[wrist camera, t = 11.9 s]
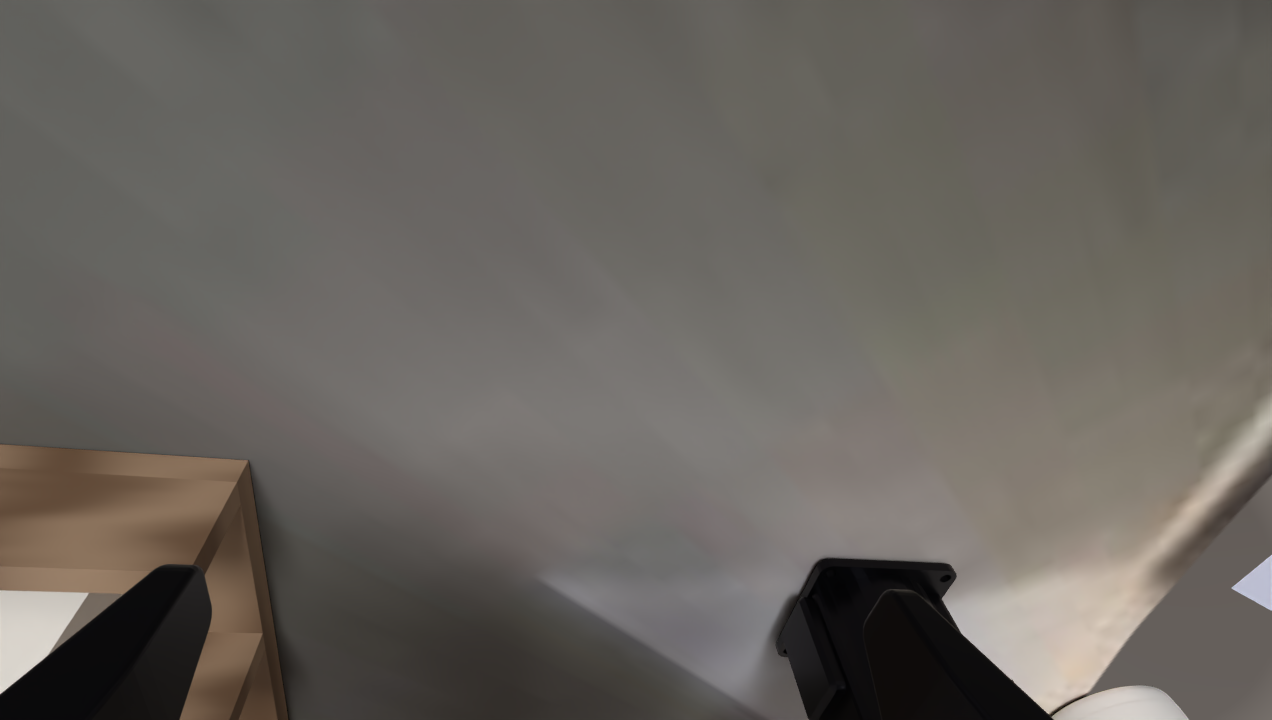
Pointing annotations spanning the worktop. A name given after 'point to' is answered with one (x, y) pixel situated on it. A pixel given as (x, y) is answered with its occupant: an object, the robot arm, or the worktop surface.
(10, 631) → the grey piece
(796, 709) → the worktop surface
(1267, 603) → the wedge on round base
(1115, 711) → the pill bottle
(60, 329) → the worktop surface
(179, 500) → the comb rack
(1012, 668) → the worktop surface
